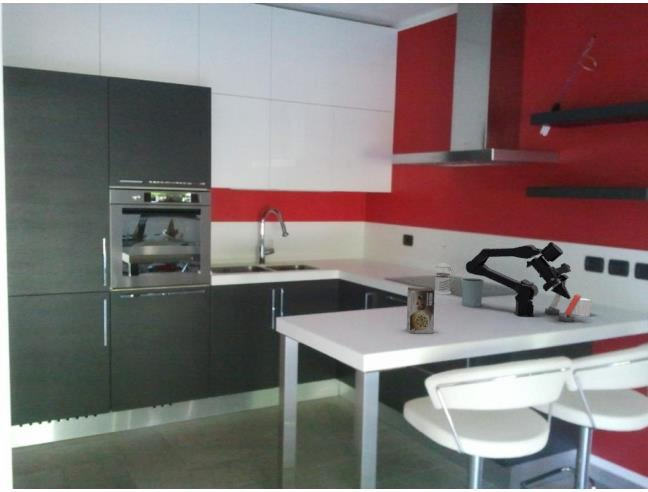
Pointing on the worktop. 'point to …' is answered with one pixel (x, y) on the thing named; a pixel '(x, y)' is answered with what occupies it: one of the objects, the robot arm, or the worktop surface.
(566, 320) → the dark rounded piece
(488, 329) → the worktop surface
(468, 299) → the grey green cup
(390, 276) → the worktop surface
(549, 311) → the grey switch base
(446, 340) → the worktop surface
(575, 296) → the block
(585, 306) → the shot glass
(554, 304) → the block
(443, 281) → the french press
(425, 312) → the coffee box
